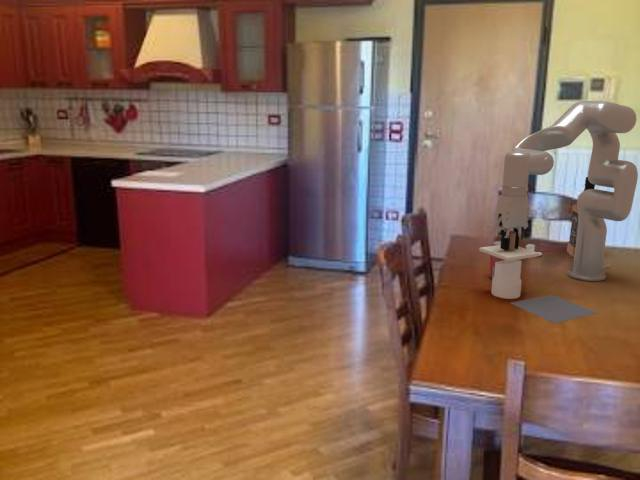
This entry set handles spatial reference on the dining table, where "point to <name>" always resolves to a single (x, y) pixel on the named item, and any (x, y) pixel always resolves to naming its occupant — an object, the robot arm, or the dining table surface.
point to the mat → (553, 308)
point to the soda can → (494, 260)
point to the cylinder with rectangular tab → (507, 279)
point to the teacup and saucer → (531, 248)
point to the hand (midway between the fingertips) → (509, 248)
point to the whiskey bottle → (576, 222)
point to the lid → (512, 252)
